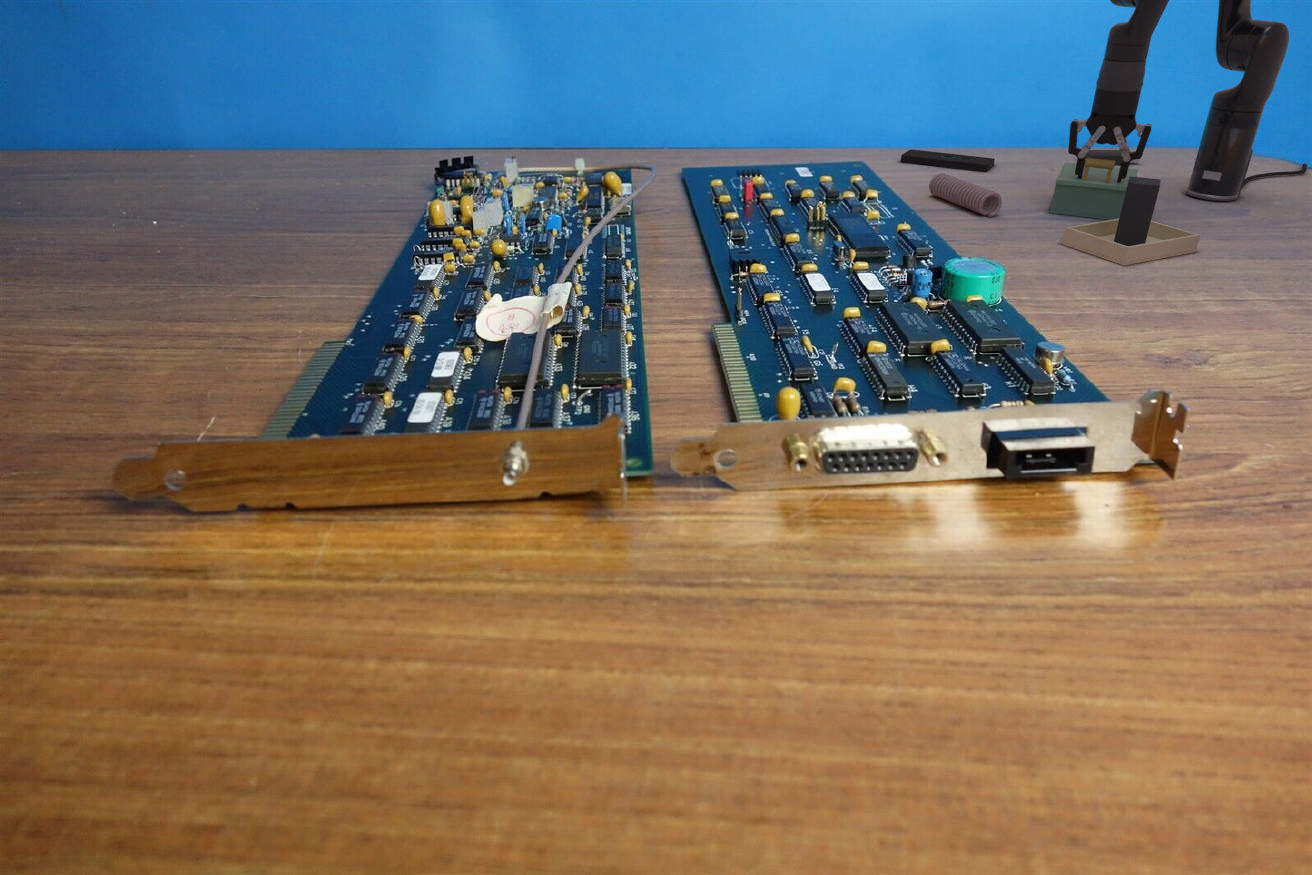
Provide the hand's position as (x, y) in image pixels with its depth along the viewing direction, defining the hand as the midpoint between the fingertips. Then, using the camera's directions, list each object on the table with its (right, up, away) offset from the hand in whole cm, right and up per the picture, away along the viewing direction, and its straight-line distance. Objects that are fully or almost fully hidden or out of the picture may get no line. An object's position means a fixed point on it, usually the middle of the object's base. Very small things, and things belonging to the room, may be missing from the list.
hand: (1099, 179), depth 177 cm
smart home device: (-16, +15, +42) cm, 47 cm away
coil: (-23, -3, +9) cm, 25 cm away
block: (-3, -16, -16) cm, 23 cm away
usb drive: (+23, +16, +44) cm, 52 cm away
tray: (-3, -16, -16) cm, 23 cm away
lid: (+2, +1, +4) cm, 5 cm away
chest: (+2, -4, +8) cm, 9 cm away
